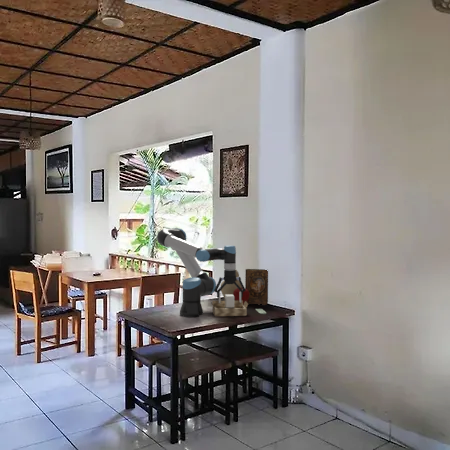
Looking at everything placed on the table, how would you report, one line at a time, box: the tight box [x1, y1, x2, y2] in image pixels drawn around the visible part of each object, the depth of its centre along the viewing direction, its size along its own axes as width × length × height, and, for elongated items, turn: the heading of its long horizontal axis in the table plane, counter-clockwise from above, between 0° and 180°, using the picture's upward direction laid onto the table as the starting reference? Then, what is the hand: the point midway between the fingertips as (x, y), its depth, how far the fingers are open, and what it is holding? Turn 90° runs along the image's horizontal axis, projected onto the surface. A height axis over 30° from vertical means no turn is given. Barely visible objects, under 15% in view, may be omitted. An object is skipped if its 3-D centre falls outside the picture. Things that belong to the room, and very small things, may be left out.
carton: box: [210, 300, 249, 317], centre depth 314 cm, size 23×13×8 cm, turn 99°
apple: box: [233, 287, 250, 305], centre depth 346 cm, size 12×12×13 cm
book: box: [244, 268, 269, 306], centre depth 352 cm, size 16×6×25 cm, turn 84°
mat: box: [255, 308, 267, 315], centre depth 325 cm, size 12×12×1 cm
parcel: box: [224, 294, 234, 309], centre depth 313 cm, size 5×7×12 cm
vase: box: [220, 269, 241, 301], centre depth 362 cm, size 17×17×30 cm
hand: (229, 302), depth 313 cm, fingers open, 13 cm apart
